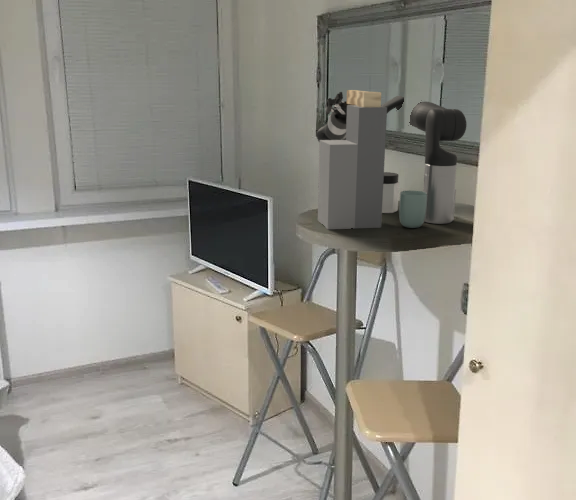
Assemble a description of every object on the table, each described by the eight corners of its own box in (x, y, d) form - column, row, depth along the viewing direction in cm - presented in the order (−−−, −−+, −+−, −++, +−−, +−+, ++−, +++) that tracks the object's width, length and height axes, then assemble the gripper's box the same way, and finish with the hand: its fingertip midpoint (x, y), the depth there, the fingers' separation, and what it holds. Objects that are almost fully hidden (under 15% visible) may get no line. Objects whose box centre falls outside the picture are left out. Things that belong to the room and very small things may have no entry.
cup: (425, 230, 186) (427, 195, 183) (397, 228, 187) (399, 194, 184) (425, 224, 193) (427, 191, 190) (398, 222, 194) (400, 189, 192)
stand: (317, 220, 197) (320, 105, 188) (368, 218, 200) (373, 105, 191) (327, 229, 185) (330, 107, 176) (381, 227, 188) (387, 107, 179)
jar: (377, 206, 217) (379, 171, 214) (400, 209, 213) (402, 173, 210) (366, 211, 210) (368, 174, 207) (390, 214, 206) (392, 176, 203)
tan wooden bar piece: (342, 103, 199) (343, 90, 198) (358, 103, 200) (358, 90, 199) (363, 107, 179) (364, 92, 178) (380, 107, 180) (381, 92, 179)
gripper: (364, 129, 210) (379, 106, 195) (321, 129, 207) (333, 106, 192) (361, 108, 212) (376, 83, 196) (318, 108, 209) (330, 83, 194)
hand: (355, 94), depth 194 cm, fingers open, 8 cm apart
